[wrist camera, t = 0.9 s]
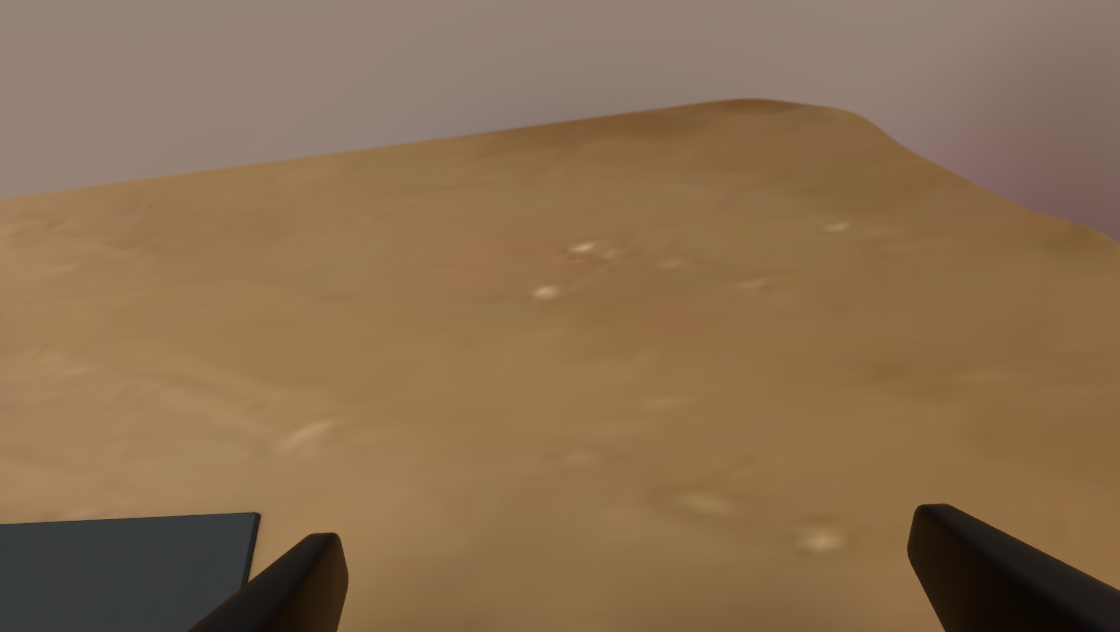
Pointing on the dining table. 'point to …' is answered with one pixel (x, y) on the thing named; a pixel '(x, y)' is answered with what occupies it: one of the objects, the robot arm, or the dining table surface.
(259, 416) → the dining table surface
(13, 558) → the mat
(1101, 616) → the robot arm
